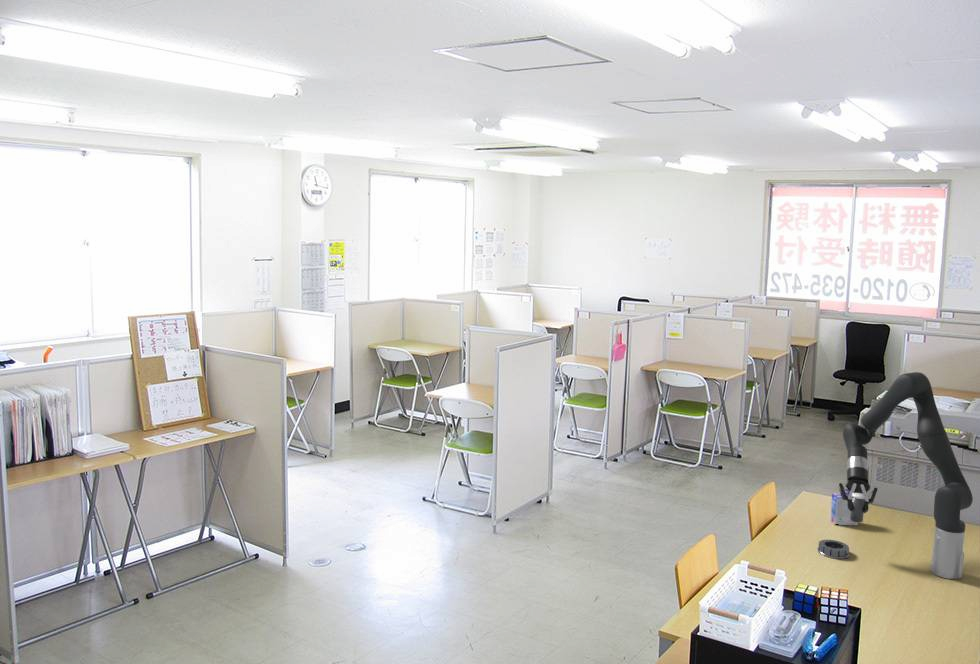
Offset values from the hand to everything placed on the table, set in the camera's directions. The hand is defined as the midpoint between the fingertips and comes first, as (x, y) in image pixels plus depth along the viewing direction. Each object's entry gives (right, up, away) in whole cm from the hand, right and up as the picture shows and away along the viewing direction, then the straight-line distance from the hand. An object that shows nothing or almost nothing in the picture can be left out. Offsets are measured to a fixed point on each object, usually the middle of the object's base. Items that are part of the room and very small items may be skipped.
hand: (858, 511), depth 292 cm
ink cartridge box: (+11, -14, +37) cm, 41 cm away
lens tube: (+1, -4, +2) cm, 5 cm away
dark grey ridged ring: (-7, -17, +6) cm, 20 cm away
